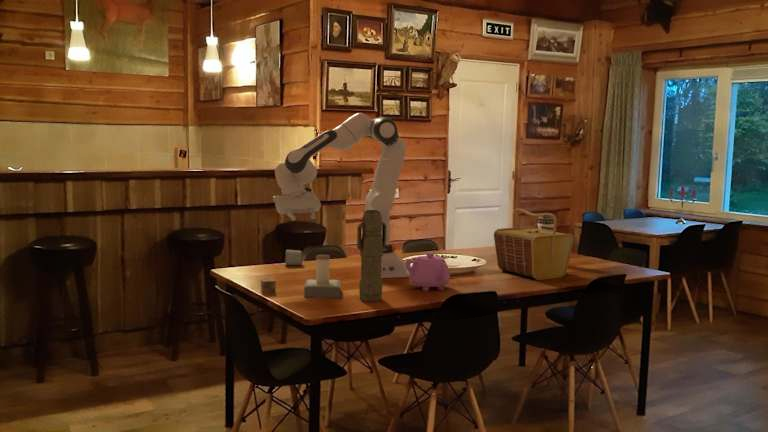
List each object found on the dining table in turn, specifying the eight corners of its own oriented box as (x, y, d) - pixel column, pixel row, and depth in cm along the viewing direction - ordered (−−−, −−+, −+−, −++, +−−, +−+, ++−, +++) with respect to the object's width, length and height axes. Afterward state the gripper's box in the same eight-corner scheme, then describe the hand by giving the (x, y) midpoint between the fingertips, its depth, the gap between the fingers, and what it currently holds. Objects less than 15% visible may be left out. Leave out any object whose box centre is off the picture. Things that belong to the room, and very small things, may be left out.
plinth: (340, 289, 299) (340, 279, 298) (339, 297, 285) (339, 286, 285) (306, 289, 298) (306, 279, 298) (304, 297, 284) (304, 286, 284)
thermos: (351, 299, 283) (353, 210, 279) (376, 295, 290) (378, 208, 286) (363, 303, 276) (365, 212, 272) (389, 300, 282) (391, 211, 278)
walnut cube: (273, 290, 296) (273, 278, 295) (275, 293, 291) (275, 281, 290) (261, 291, 294) (261, 279, 293) (263, 293, 289) (263, 281, 289)
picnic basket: (574, 277, 335) (577, 213, 331) (532, 282, 322) (535, 215, 318) (530, 266, 360) (533, 206, 356) (490, 271, 346) (492, 208, 343)
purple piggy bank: (417, 295, 291) (418, 259, 289) (397, 285, 309) (397, 251, 307) (460, 292, 299) (461, 256, 297) (437, 282, 317) (438, 248, 315)
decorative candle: (557, 263, 369) (559, 215, 366) (544, 265, 364) (546, 216, 361) (543, 260, 376) (545, 213, 374) (531, 262, 371) (533, 214, 368)
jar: (329, 281, 294) (329, 254, 293) (329, 284, 289) (329, 257, 287) (316, 281, 294) (316, 254, 292) (315, 284, 288) (315, 256, 287)
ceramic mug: (302, 266, 348) (302, 250, 347) (285, 266, 346) (285, 250, 346) (301, 262, 358) (301, 247, 358) (284, 263, 357) (284, 247, 356)
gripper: (273, 190, 308) (284, 215, 301) (316, 188, 319) (327, 212, 312) (269, 200, 312) (279, 225, 305) (311, 197, 323) (322, 221, 316)
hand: (304, 218), depth 309 cm, fingers open, 8 cm apart
